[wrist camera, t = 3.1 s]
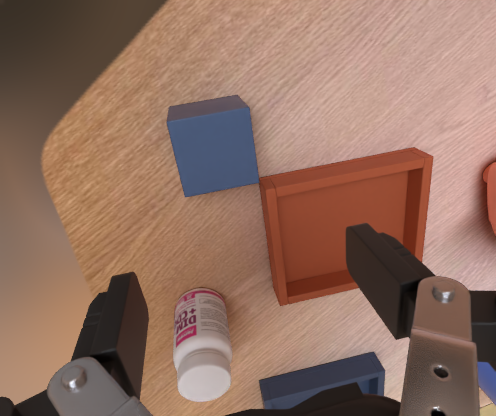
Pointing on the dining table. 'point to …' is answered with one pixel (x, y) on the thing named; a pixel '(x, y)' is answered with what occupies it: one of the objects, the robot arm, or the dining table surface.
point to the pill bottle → (202, 345)
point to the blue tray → (323, 381)
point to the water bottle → (487, 380)
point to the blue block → (213, 144)
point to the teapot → (491, 193)
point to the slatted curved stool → (488, 410)
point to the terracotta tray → (340, 217)
